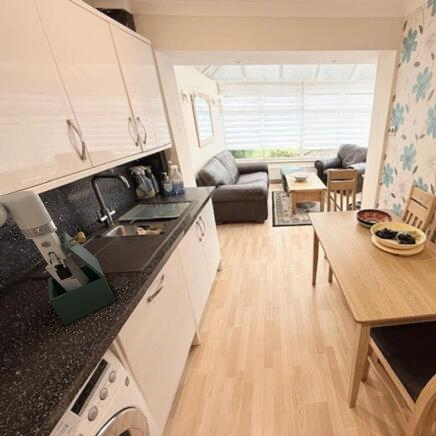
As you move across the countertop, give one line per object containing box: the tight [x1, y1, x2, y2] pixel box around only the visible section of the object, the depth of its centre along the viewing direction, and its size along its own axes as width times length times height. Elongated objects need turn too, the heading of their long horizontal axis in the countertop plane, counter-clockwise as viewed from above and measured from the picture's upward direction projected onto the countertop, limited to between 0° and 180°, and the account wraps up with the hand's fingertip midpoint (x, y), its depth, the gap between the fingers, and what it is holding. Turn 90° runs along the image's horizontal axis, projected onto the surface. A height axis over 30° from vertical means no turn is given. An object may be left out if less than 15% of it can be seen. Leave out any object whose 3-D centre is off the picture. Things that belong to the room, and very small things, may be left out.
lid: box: [61, 231, 105, 278], centre depth 87 cm, size 16×17×5 cm
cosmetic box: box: [45, 256, 89, 291], centre depth 85 cm, size 6×4×12 cm
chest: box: [47, 264, 116, 326], centre depth 89 cm, size 15×17×11 cm
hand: (66, 273), depth 84 cm, fingers closed on cosmetic box, 6 cm apart
